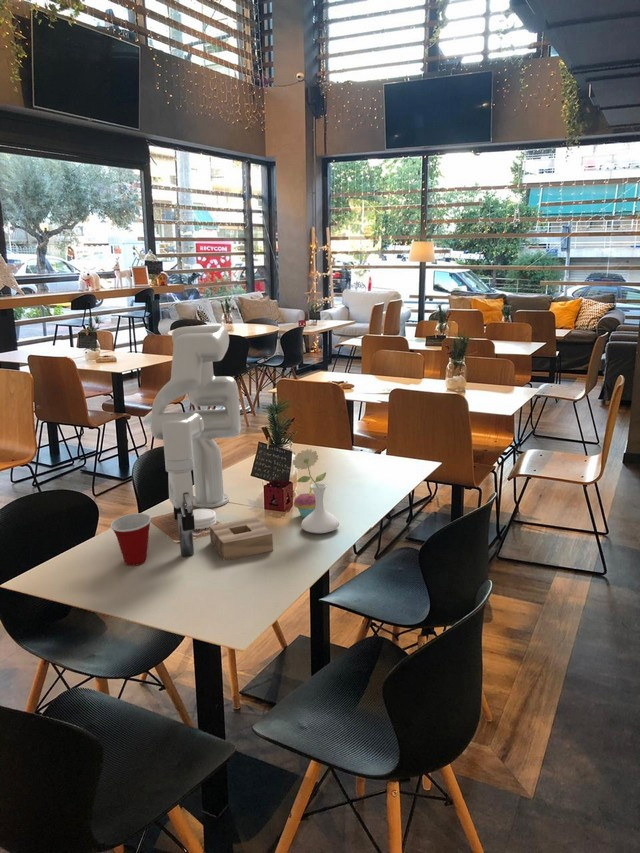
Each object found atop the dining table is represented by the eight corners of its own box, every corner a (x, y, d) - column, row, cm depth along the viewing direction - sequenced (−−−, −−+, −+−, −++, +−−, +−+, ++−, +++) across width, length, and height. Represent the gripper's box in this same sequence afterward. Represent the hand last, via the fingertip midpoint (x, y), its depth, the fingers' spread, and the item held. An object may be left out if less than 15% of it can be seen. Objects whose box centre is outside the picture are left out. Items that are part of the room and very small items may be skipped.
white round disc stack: (199, 533, 210) (198, 522, 209) (177, 526, 216) (176, 515, 215) (223, 522, 217) (222, 511, 217) (201, 516, 223) (200, 506, 222)
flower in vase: (338, 521, 214) (335, 442, 208) (340, 536, 203) (338, 453, 197) (295, 523, 214) (292, 444, 208) (295, 538, 203) (291, 455, 197)
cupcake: (326, 513, 221) (325, 477, 218) (311, 522, 214) (310, 485, 211) (304, 509, 226) (303, 473, 223) (289, 517, 219) (287, 481, 216)
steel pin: (179, 553, 195) (176, 512, 192) (192, 550, 197) (188, 510, 194) (182, 557, 192) (178, 516, 189) (195, 555, 193) (192, 514, 190)
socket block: (210, 542, 202) (209, 526, 201) (256, 533, 207) (255, 517, 206) (224, 560, 189) (223, 543, 188) (273, 550, 195) (272, 533, 193)
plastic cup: (105, 564, 189) (101, 523, 186) (136, 550, 198) (132, 510, 195) (133, 573, 183) (128, 530, 180) (163, 558, 192) (159, 517, 189)
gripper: (159, 458, 194) (164, 517, 198) (172, 473, 179) (177, 537, 182) (186, 455, 197) (190, 512, 201) (201, 469, 182) (206, 531, 185)
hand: (184, 524), depth 192 cm, fingers open, 9 cm apart
